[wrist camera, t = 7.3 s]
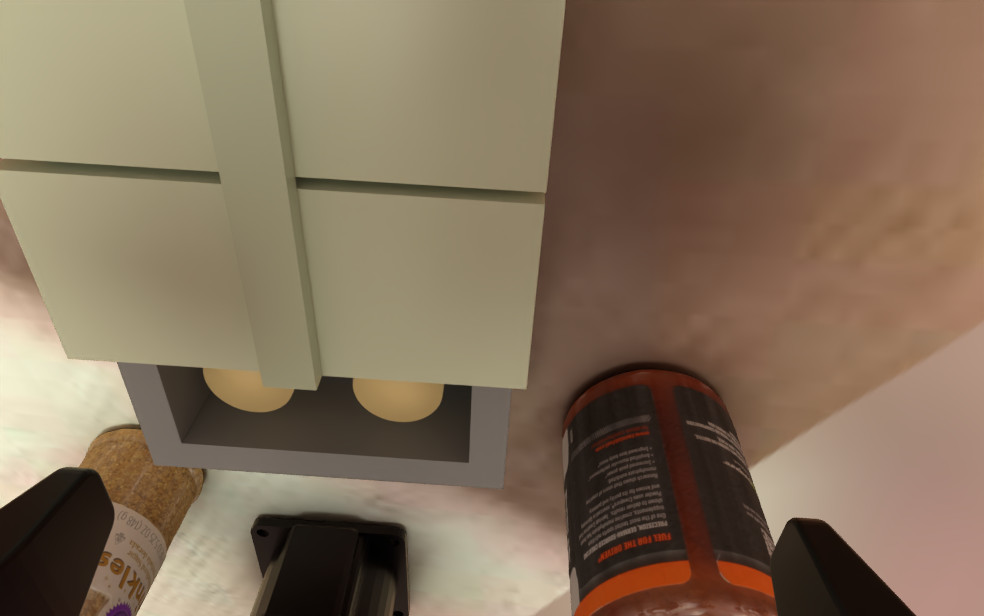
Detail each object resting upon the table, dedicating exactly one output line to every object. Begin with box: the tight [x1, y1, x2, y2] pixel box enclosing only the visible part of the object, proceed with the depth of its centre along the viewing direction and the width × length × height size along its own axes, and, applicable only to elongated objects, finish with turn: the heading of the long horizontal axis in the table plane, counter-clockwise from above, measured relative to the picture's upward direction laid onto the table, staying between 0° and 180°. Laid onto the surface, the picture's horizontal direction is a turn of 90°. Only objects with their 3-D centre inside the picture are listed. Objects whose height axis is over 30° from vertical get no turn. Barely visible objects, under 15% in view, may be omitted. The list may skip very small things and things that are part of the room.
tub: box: [117, 362, 512, 489], centre depth 17 cm, size 14×10×5 cm
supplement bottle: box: [562, 369, 778, 616], centre depth 20 cm, size 6×6×11 cm
